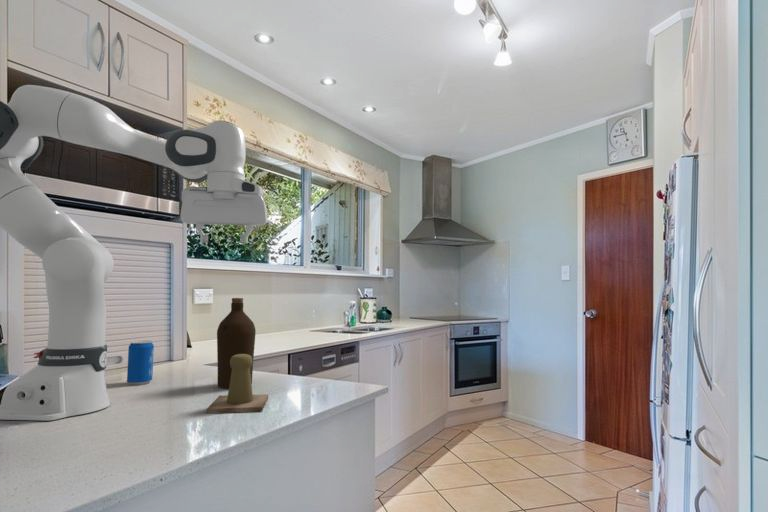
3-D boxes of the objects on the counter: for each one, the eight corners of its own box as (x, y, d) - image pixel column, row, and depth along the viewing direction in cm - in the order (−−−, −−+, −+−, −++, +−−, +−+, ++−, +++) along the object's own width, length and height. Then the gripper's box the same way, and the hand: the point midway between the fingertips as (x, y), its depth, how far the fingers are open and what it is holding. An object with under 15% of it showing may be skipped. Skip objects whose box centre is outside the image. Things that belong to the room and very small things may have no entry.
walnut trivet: (206, 413, 98) (207, 408, 98) (219, 399, 110) (219, 395, 110) (261, 411, 100) (262, 407, 100) (268, 398, 112) (268, 394, 112)
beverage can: (144, 385, 125) (146, 343, 126) (121, 385, 125) (124, 342, 126) (156, 380, 131) (158, 340, 132) (135, 380, 132) (136, 340, 132)
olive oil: (251, 389, 122) (254, 298, 124) (211, 390, 120) (214, 298, 122) (256, 380, 132) (258, 297, 134) (219, 381, 131) (222, 297, 132)
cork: (244, 404, 102) (246, 356, 102) (221, 403, 103) (223, 355, 104) (257, 398, 107) (259, 353, 108) (235, 397, 109) (237, 352, 110)
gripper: (177, 182, 104) (175, 240, 103) (266, 186, 107) (264, 242, 106) (185, 188, 111) (183, 243, 110) (269, 191, 114) (267, 244, 113)
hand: (224, 242), depth 108 cm, fingers open, 8 cm apart
